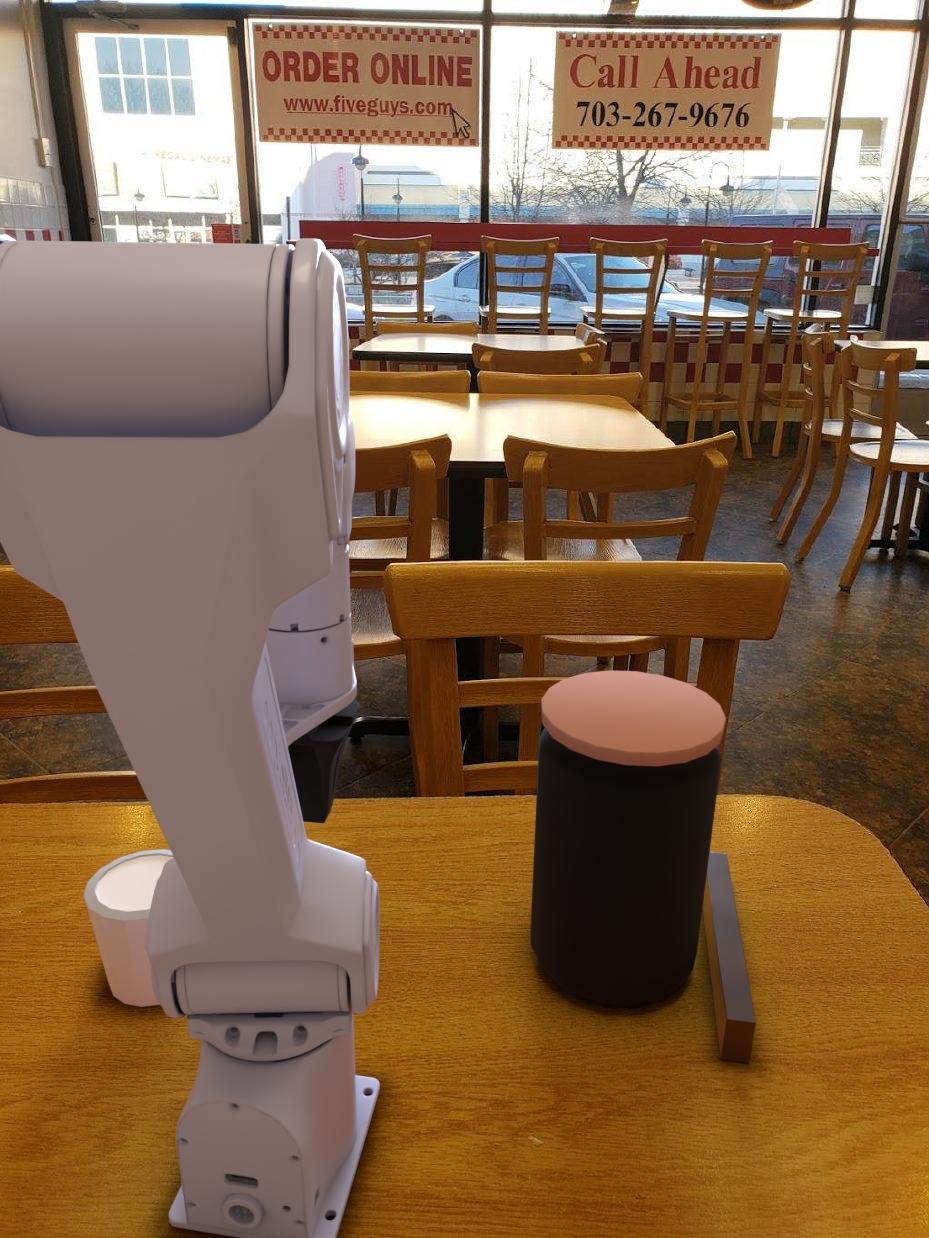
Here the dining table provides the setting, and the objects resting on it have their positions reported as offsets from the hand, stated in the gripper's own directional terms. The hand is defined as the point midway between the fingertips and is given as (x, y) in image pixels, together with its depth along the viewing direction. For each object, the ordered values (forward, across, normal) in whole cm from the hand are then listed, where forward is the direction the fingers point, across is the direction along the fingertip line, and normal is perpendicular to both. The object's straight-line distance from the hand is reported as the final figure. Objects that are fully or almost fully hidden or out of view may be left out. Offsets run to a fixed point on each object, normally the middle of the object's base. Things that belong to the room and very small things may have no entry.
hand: (311, 816), depth 59 cm
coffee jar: (+10, -2, +19) cm, 22 cm away
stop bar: (+9, -2, +26) cm, 28 cm away
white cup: (+10, +5, -9) cm, 14 cm away
